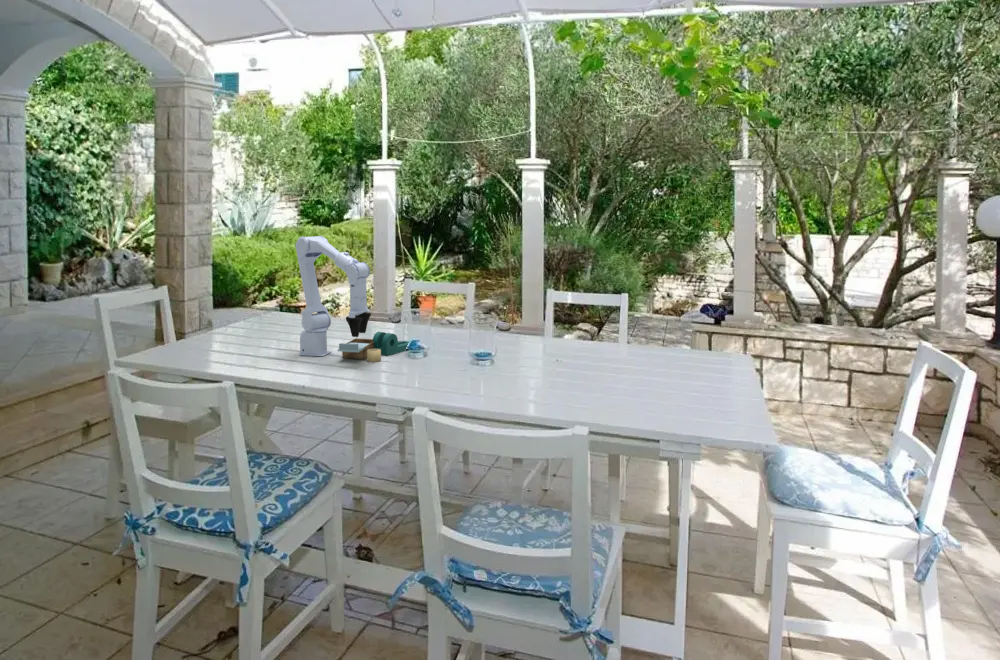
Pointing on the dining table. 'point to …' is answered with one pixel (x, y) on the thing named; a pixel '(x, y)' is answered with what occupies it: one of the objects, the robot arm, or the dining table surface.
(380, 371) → the dining table surface
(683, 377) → the dining table surface
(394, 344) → the bracket
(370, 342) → the pencil box
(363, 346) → the lid
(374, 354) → the tape roll
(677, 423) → the dining table surface
